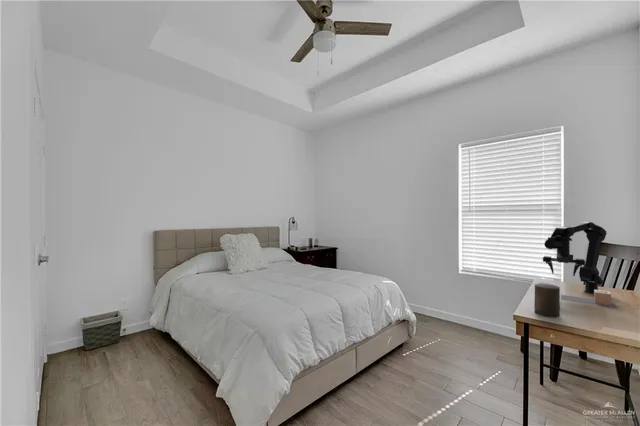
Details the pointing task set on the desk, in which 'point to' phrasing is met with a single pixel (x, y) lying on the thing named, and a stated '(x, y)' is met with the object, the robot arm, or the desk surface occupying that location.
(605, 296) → the cube
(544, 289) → the pillar candle
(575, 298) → the mat
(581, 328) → the desk surface
